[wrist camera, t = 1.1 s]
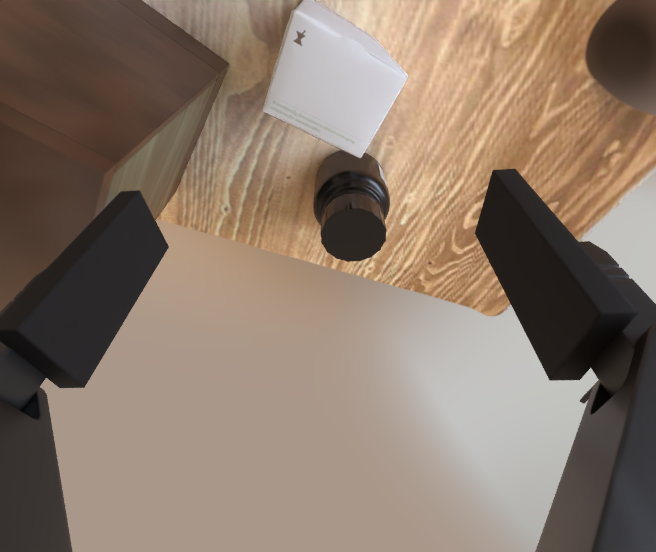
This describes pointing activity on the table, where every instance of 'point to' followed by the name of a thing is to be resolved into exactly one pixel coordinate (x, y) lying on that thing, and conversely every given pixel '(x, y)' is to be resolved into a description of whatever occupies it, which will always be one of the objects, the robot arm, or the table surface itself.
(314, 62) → the cosmetic box
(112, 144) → the desk cabinet
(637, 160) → the table surface
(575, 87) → the table surface
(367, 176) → the ink bottle
